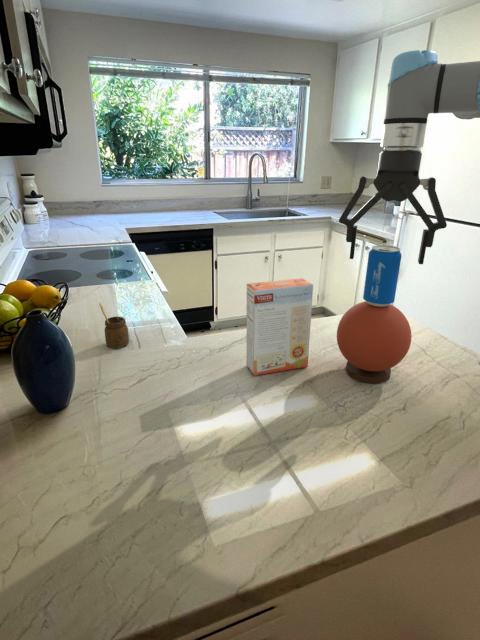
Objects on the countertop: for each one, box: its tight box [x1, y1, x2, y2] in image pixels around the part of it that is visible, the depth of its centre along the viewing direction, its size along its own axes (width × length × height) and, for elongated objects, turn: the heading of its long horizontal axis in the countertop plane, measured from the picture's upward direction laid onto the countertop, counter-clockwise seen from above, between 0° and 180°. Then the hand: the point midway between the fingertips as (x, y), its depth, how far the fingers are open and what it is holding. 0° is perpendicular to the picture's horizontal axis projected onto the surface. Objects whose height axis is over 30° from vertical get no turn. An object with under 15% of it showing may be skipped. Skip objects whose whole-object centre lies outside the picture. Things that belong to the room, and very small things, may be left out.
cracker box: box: [246, 277, 314, 377], centre depth 93 cm, size 14×6×21 cm, turn 108°
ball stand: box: [336, 300, 413, 385], centre depth 91 cm, size 16×16×18 cm
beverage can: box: [362, 244, 402, 307], centre depth 85 cm, size 6×6×12 cm
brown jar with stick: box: [98, 302, 130, 349], centre depth 105 cm, size 6×6×12 cm
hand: (385, 260), depth 84 cm, fingers open, 13 cm apart
